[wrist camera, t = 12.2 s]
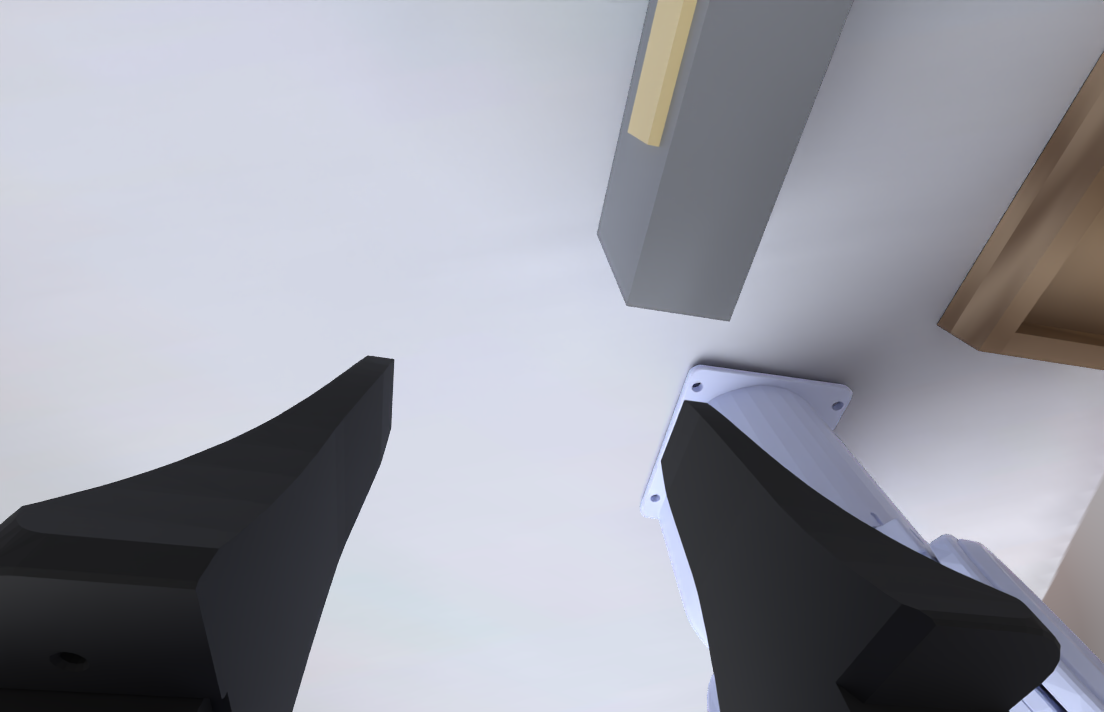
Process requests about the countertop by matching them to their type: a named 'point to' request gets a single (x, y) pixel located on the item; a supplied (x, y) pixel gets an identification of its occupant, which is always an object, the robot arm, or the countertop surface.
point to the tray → (1046, 253)
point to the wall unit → (710, 144)
